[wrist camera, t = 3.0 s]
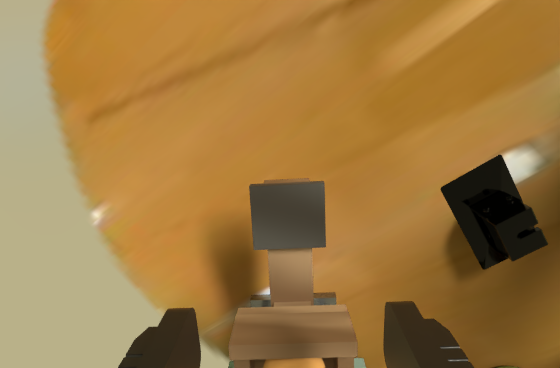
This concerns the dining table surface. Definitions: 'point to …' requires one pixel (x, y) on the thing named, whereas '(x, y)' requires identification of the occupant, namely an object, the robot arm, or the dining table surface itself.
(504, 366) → the plant pot
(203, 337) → the dining table surface
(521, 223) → the black box
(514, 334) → the dining table surface
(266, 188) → the lever
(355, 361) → the tray
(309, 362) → the ball
